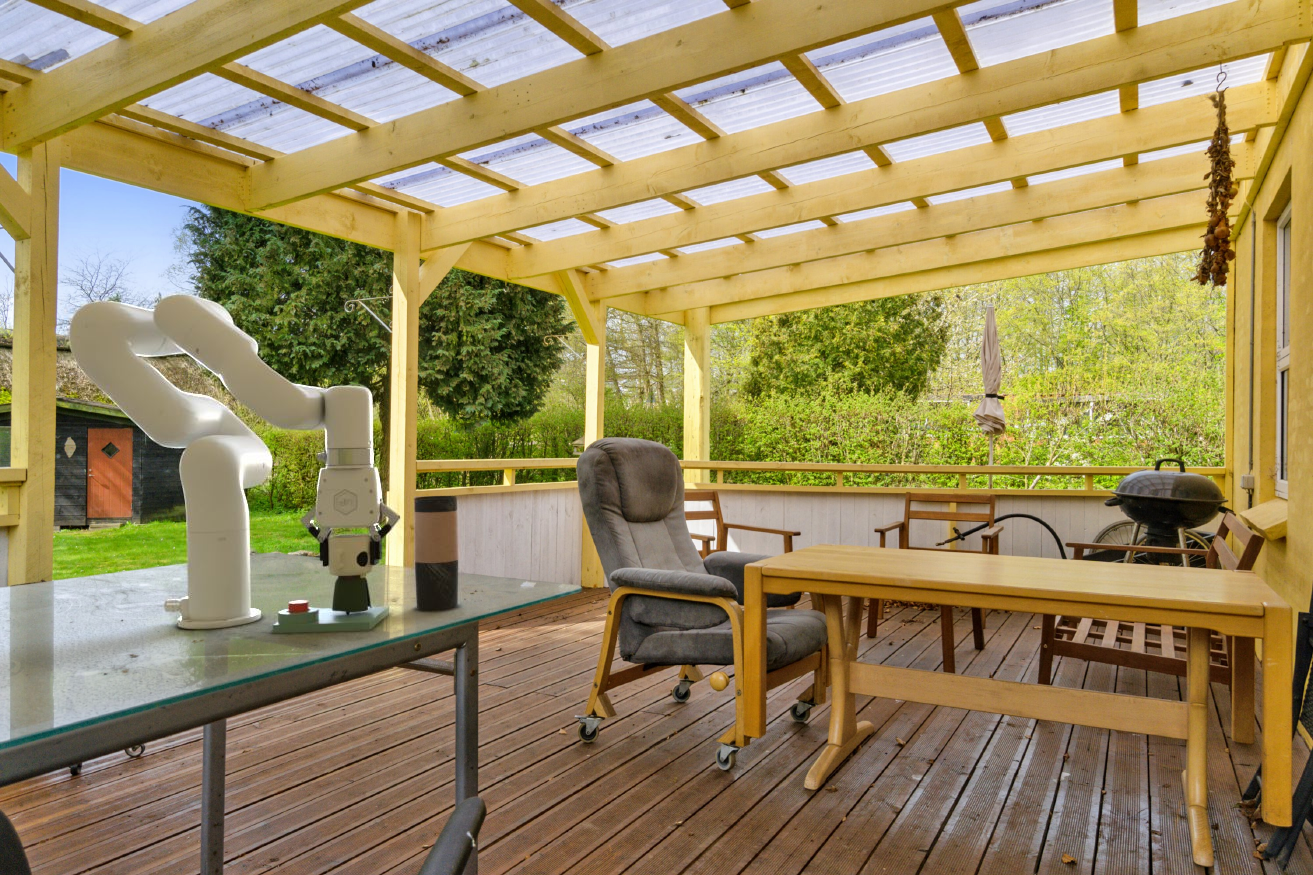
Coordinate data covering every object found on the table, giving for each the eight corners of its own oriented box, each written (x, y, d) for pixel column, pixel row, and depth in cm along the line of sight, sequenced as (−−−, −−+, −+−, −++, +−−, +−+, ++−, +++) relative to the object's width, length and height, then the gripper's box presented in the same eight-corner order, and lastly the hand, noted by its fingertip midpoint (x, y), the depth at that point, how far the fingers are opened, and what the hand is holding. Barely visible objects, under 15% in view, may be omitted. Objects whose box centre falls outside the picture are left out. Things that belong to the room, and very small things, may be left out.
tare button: (285, 614, 137) (285, 603, 137) (292, 610, 140) (292, 600, 140) (305, 614, 138) (304, 603, 138) (311, 610, 141) (311, 599, 141)
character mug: (358, 619, 139) (356, 539, 139) (315, 619, 139) (314, 539, 139) (385, 606, 150) (384, 532, 150) (346, 606, 150) (345, 532, 150)
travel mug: (464, 603, 158) (463, 495, 158) (450, 612, 151) (449, 498, 151) (424, 603, 159) (423, 495, 159) (408, 612, 152) (407, 498, 152)
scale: (272, 633, 136) (272, 614, 136) (300, 616, 149) (300, 599, 149) (369, 630, 137) (369, 611, 137) (389, 614, 150) (388, 597, 150)
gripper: (288, 460, 140) (290, 569, 140) (397, 459, 141) (398, 566, 141) (304, 459, 148) (305, 562, 148) (407, 458, 149) (408, 560, 149)
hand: (351, 563), depth 145 cm, fingers closed on character mug, 7 cm apart
